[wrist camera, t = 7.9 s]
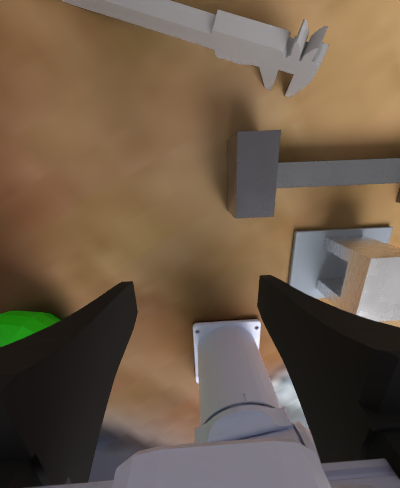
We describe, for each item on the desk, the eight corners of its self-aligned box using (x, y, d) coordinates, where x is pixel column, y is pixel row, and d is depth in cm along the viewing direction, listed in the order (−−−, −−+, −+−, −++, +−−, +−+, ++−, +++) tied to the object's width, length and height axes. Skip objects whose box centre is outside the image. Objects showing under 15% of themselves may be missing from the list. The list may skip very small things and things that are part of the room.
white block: (350, 286, 22) (399, 319, 17) (315, 288, 22) (354, 322, 17) (362, 235, 20) (421, 255, 15) (324, 237, 20) (370, 258, 15)
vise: (425, 200, 20) (479, 206, 16) (226, 209, 19) (235, 218, 16) (447, 133, 18) (515, 122, 14) (227, 141, 17) (237, 131, 14)
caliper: (294, 85, 16) (351, 34, 11) (288, 100, 17) (341, 59, 11) (30, -30, 14) (-93, -188, 8) (29, -10, 14) (-90, -146, 8)
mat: (370, 292, 23) (373, 294, 23) (286, 297, 23) (288, 300, 23) (389, 226, 21) (392, 227, 20) (294, 231, 20) (296, 232, 20)
